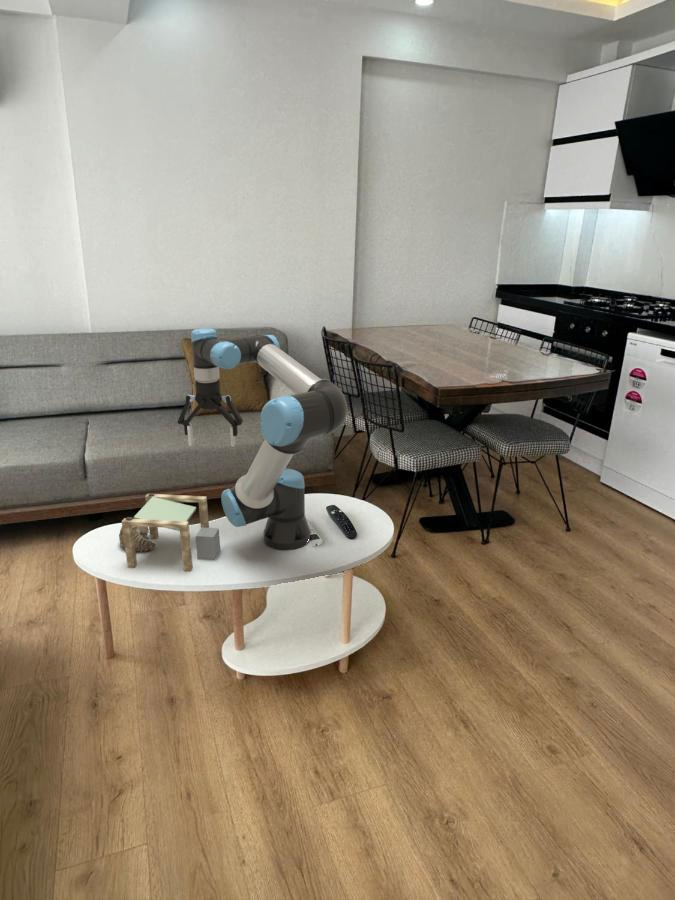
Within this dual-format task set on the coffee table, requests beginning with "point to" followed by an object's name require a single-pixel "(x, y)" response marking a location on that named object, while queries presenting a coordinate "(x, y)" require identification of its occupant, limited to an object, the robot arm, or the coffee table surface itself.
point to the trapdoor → (165, 511)
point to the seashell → (139, 538)
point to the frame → (154, 525)
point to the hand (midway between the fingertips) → (212, 445)
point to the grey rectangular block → (208, 543)
